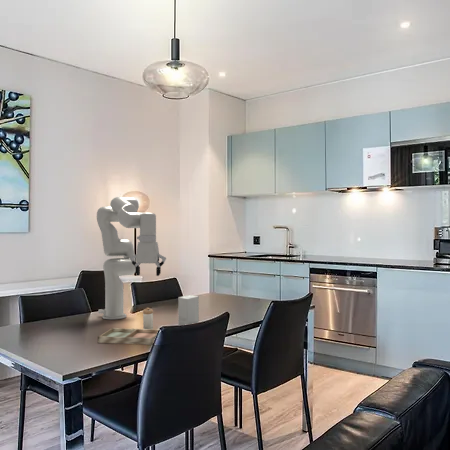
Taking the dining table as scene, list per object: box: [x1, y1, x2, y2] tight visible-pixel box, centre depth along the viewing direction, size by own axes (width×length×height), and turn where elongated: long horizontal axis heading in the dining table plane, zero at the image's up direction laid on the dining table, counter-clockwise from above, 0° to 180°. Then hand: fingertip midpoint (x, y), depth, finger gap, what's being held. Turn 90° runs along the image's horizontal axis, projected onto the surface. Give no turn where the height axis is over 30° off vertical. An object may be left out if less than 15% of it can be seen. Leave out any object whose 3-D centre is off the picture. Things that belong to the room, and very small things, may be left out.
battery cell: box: [142, 307, 154, 329], centre depth 217 cm, size 4×4×11 cm
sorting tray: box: [97, 327, 159, 346], centre depth 202 cm, size 24×16×2 cm, turn 82°
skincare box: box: [177, 294, 200, 326], centre depth 221 cm, size 8×7×16 cm
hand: (148, 275), depth 216 cm, fingers open, 9 cm apart
